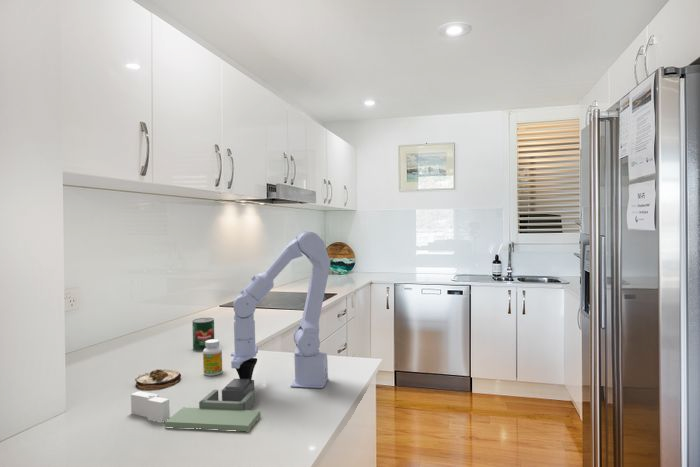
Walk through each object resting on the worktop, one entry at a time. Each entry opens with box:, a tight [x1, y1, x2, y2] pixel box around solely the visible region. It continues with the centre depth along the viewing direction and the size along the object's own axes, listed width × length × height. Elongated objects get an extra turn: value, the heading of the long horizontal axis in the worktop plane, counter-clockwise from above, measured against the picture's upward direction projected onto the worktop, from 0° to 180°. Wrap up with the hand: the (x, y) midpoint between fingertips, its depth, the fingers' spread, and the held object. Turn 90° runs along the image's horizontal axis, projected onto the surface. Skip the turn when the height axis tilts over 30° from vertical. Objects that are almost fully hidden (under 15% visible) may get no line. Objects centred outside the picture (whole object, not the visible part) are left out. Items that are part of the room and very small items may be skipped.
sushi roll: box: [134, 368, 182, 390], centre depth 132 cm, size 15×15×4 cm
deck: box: [164, 389, 261, 433], centre depth 109 cm, size 20×16×3 cm
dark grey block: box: [221, 378, 255, 402], centre depth 119 cm, size 6×8×4 cm
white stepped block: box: [130, 390, 171, 423], centre depth 108 cm, size 15×11×6 cm
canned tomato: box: [191, 317, 215, 353], centre depth 168 cm, size 8×8×11 cm
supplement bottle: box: [202, 338, 223, 377], centre depth 140 cm, size 6×6×10 cm
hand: (246, 385), depth 125 cm, fingers closed
